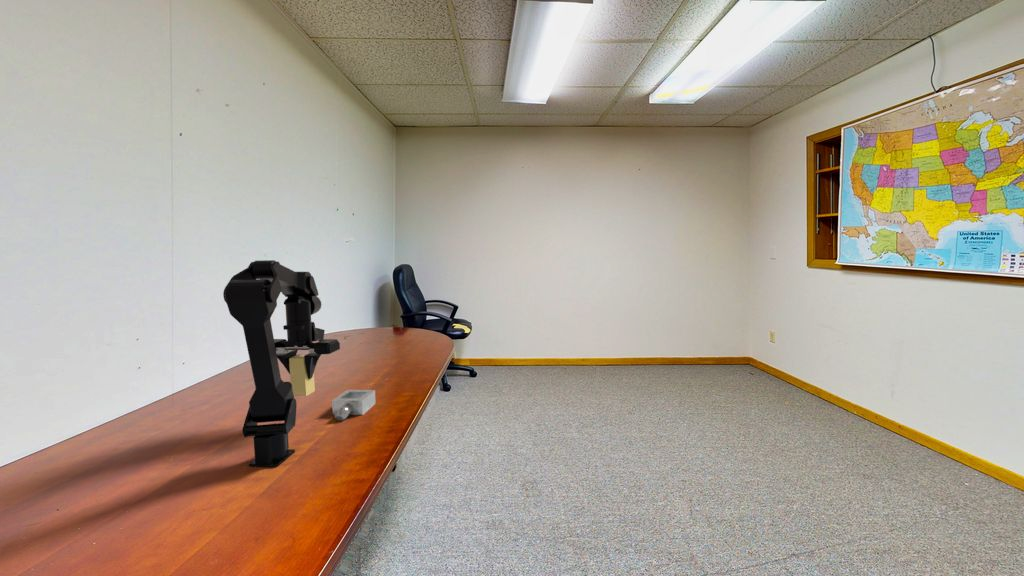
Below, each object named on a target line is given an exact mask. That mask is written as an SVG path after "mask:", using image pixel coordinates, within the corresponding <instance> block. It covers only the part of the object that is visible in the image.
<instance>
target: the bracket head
mask: <svg viewBox="0 0 1024 576" xmlns="http://www.w3.org/2000/svg"><path fill="white" fill-rule="evenodd" d="M376 404H377V403H376V389H375V390H374V389H369V388H364V389H346V390H345V391H343V392H341V393H340V394H339V395H338V396H336V397H335V398H334V399H331V405H332V406H331V408H332V415H334V417H335V419H336V420H337V421H338V422H339V421H340V422H343V421H344V420H345V419H347V418H348V417H349V416H350V415H351V416H364V415H365V414H366V413H367V412H368V411H369V410H370V409H372V408H373V407H374V405H376Z"/></svg>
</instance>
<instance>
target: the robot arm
mask: <svg viewBox="0 0 1024 576" xmlns="http://www.w3.org/2000/svg"><path fill="white" fill-rule="evenodd" d="M281 293H282V295H284V297H285V299H284V302H283V304H284V305H285V320H286V323H285V325H283V326H282V328H283V330H284V331H286V337H287V338H275V336H274V332H273V327H272V321H271V317H272V316H273V313H274V312H275V309H276V308H277V305H278V298H279V297H280V294H281ZM222 296H223V300H224V302H225V303H226V305H227V309H228V311H229V314H230V316H232V318H233V319H235V321H237V322H238V323H239V324H240V325H241V326H242V328H243V329H242V330H243V335H244V338H245V343H246V349H247V354H248V359H249V363H250V368H251V373H252V377H253V382H254V383H253V384H254V388H255V389H254V392H253V393H252V395H251V397H250V400H249V401H248V405H249V406H248V409H247V413H246V415H245V419H244V421H243V422H244V423H243V426H242V429H241V431H242V435H243V438H248V437H250V438H251V437H253V450H254V458H253V459H252V460H250V461H249V462H248V463H247V464H248V466H249V467H278V466H279V465H281V464H282V463H283V462H284V461H286V460H287V459H288V458H290V457H291V456H292V455H293V454H295V453H296V449H293V448H292V449H291V448H290V445H289V433H290V432H291V431H292V430H293V429H294V427H295V426H296V421H297V400H296V398H295V396H294V394H293V390H292V384H291V382H290V381H284V380H282V377H281V371H280V366H279V361H280V363H281V365H283V367H284V368H285V369H286V371H287V372H288V375H290V366H289V358H291V357H294V356H296V355H298V351H308V353H307V354H303V355H304V358H305V365H306V371H307V376H308V379H311V378H312V376H313V373H314V374H315V370H316V367H317V363H318V361H319V359H320V357H321V356H322V355H330V354H333V353H334V352H336V351H339V350H341V346H340V345H341V343H340V341H339V340H338V339H337V338H325V331H326V330H325V329H323V328H318V327H316V324H315V321H312V315H314V314H316V313H318V312H319V311H320V310H321V308H322V302H321V299H320V298H319V290H318V288H317V284H316V281H315V278H314V276H313V275H312V274H311V273H310V271H294V270H293V269H291V268H289V267H286V266H285V265H282V264H281V263H280V262H279V261H276V260H268V259H267V260H261V259H260V260H254V261H251V262H250V263H249V265H248V266H247V268H244V269H243V270H241V271H239V272H238V273H236V274H234V275H233V276H232V277H231V278H230V280H229V281H228V282H227V284H226V286H225V287H224V289H223V293H222ZM272 422H273V423H272ZM276 422H279V423H276ZM280 422H281V423H280ZM260 423H261V424H260ZM262 423H267V424H262ZM268 423H269V424H268Z"/></svg>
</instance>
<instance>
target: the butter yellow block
mask: <svg viewBox="0 0 1024 576" xmlns="http://www.w3.org/2000/svg"><path fill="white" fill-rule="evenodd" d="M304 355H305V354H298V353H297V354H296V356H294V357H291V358H289V366H290V374H289V379H290V381H289V382H290V383H291V384H292V390H293V394H294V397H307V396H309V395H310V394H312V393H314V392H315V390H316V389H315V372H314V373H313V376H312V378H311V379H308V376H307V371H306V365H305V358H304Z"/></svg>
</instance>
